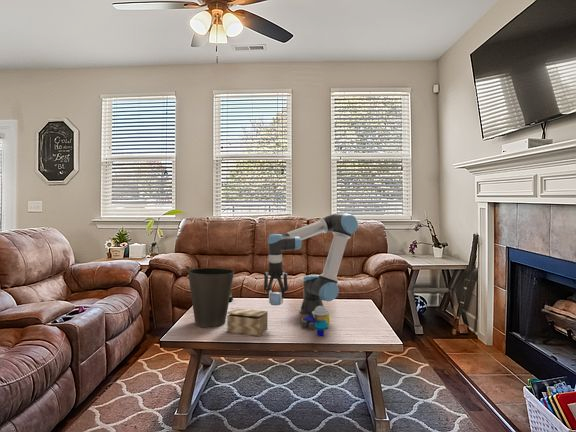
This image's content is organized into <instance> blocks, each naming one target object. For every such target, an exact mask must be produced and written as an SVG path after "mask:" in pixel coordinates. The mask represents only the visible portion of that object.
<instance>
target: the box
mask: <svg viewBox="0 0 576 432" xmlns="http://www.w3.org/2000/svg"><path fill="white" fill-rule="evenodd" d="M226 322H227V325H226V329H227V330H226V331H227V333H226V334H232V335H233V334H234V335H235V334H236V335H243V336H251V337H257V338H258V337H260V336H262V335H263V334H264V333H265V332H266V331H267V330H268V327H269V326H268V313H266V314H264V315H262V316H260V317H255V316H245V315H236V314H227V316H226Z"/></svg>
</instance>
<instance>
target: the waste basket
mask: <svg viewBox="0 0 576 432" xmlns="http://www.w3.org/2000/svg"><path fill="white" fill-rule="evenodd" d="M187 274H188V275H187V276H188V280H189V289H190V296H191V303H192V308H193V309H192V310H193V318H194V323H195V325H196V326H197V327H199V328H205V329H208V328H209V329H211V328H213V329H214V328H218V327H222V326H223V325H225V323H226V322H227V316H228V314H227V312H228V310H229V304H230V302H229V298H230V294H232V291H231V290H232V285H233V281H234V280H233V279H234V275H235V270H233V269H230V268H219V267H200V268H199V267H198V268H191V269H188V270H187Z"/></svg>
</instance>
